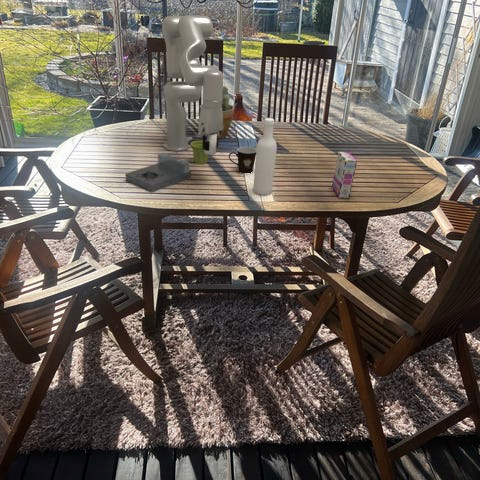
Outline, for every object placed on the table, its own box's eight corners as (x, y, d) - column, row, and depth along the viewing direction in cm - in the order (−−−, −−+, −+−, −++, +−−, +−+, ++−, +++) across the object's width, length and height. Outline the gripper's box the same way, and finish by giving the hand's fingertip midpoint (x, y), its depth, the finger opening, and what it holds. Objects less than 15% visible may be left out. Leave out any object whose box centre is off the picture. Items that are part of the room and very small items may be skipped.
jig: (165, 167, 204) (164, 152, 200) (191, 177, 196) (191, 162, 192) (126, 180, 189) (125, 164, 185) (152, 192, 180) (151, 175, 177)
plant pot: (214, 161, 215) (215, 143, 211) (204, 167, 207) (205, 148, 203) (197, 157, 218) (197, 139, 214) (186, 162, 211) (187, 144, 206)
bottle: (266, 197, 183) (273, 123, 168) (249, 192, 187) (255, 119, 172) (275, 190, 189) (283, 119, 174) (259, 185, 193) (265, 115, 178)
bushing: (209, 149, 191) (210, 130, 187) (218, 152, 188) (219, 133, 184) (201, 152, 188) (202, 133, 183) (210, 155, 185) (211, 136, 181)
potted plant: (232, 141, 241) (235, 93, 229) (197, 139, 241) (198, 90, 229) (233, 131, 257) (235, 85, 245) (200, 129, 257) (201, 83, 244)
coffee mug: (257, 169, 209) (259, 148, 204) (251, 176, 202) (253, 154, 197) (233, 165, 212) (234, 144, 207) (226, 171, 205) (228, 150, 200)
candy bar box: (350, 199, 187) (357, 161, 179) (338, 198, 187) (345, 160, 179) (342, 187, 197) (349, 151, 189) (331, 187, 197) (337, 151, 188)
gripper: (219, 98, 185) (216, 141, 195) (190, 105, 174) (189, 150, 183) (233, 102, 182) (230, 146, 191) (204, 109, 170) (203, 156, 179)
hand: (210, 148), depth 187 cm, fingers closed on bushing, 4 cm apart
